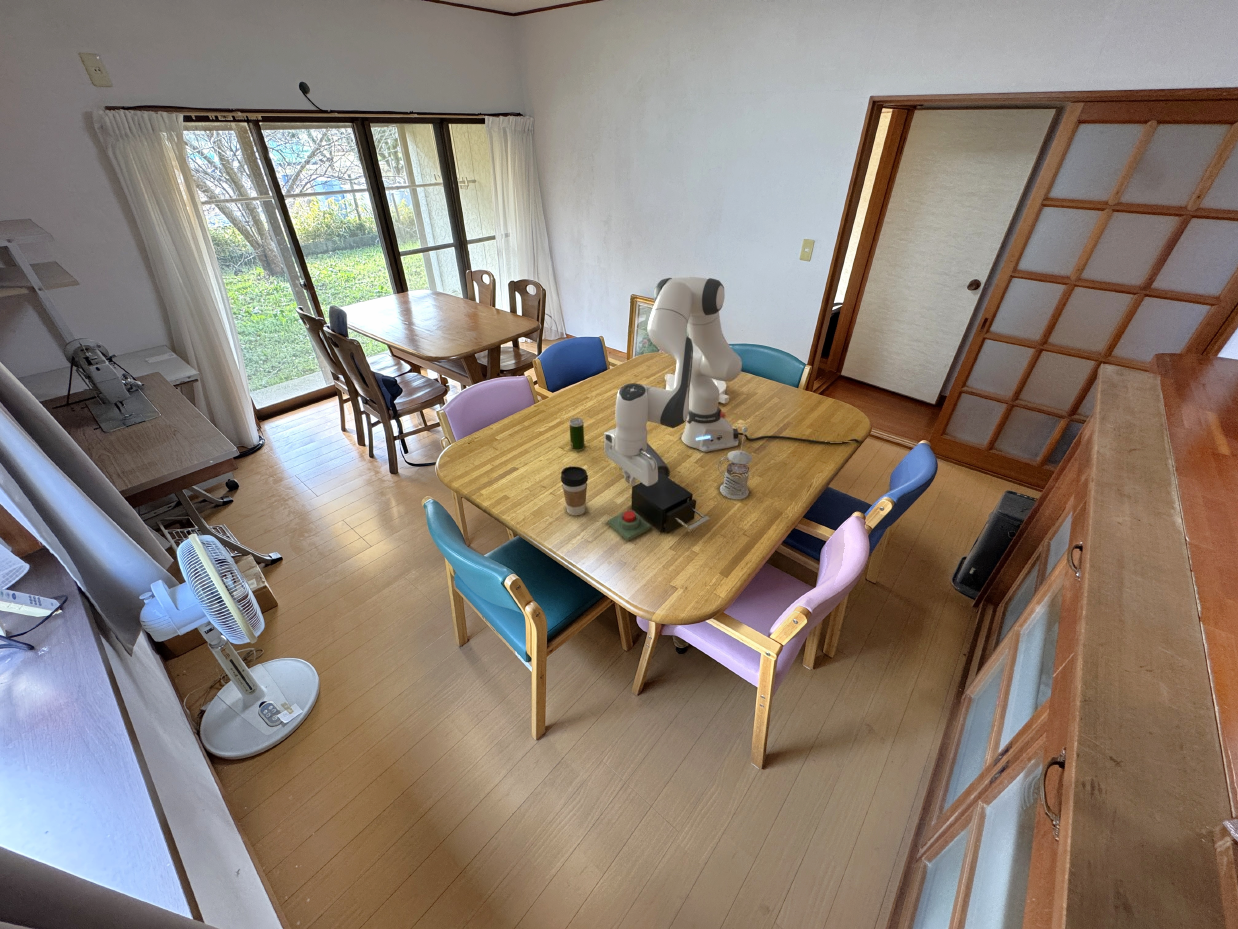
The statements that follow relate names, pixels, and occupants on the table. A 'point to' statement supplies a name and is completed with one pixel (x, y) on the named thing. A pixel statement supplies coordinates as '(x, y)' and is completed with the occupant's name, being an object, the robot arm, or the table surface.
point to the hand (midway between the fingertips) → (630, 482)
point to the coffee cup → (574, 489)
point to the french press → (735, 485)
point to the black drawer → (682, 516)
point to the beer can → (577, 434)
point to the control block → (629, 526)
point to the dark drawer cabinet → (657, 499)
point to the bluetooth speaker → (658, 461)
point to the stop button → (629, 516)
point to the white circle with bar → (670, 385)
